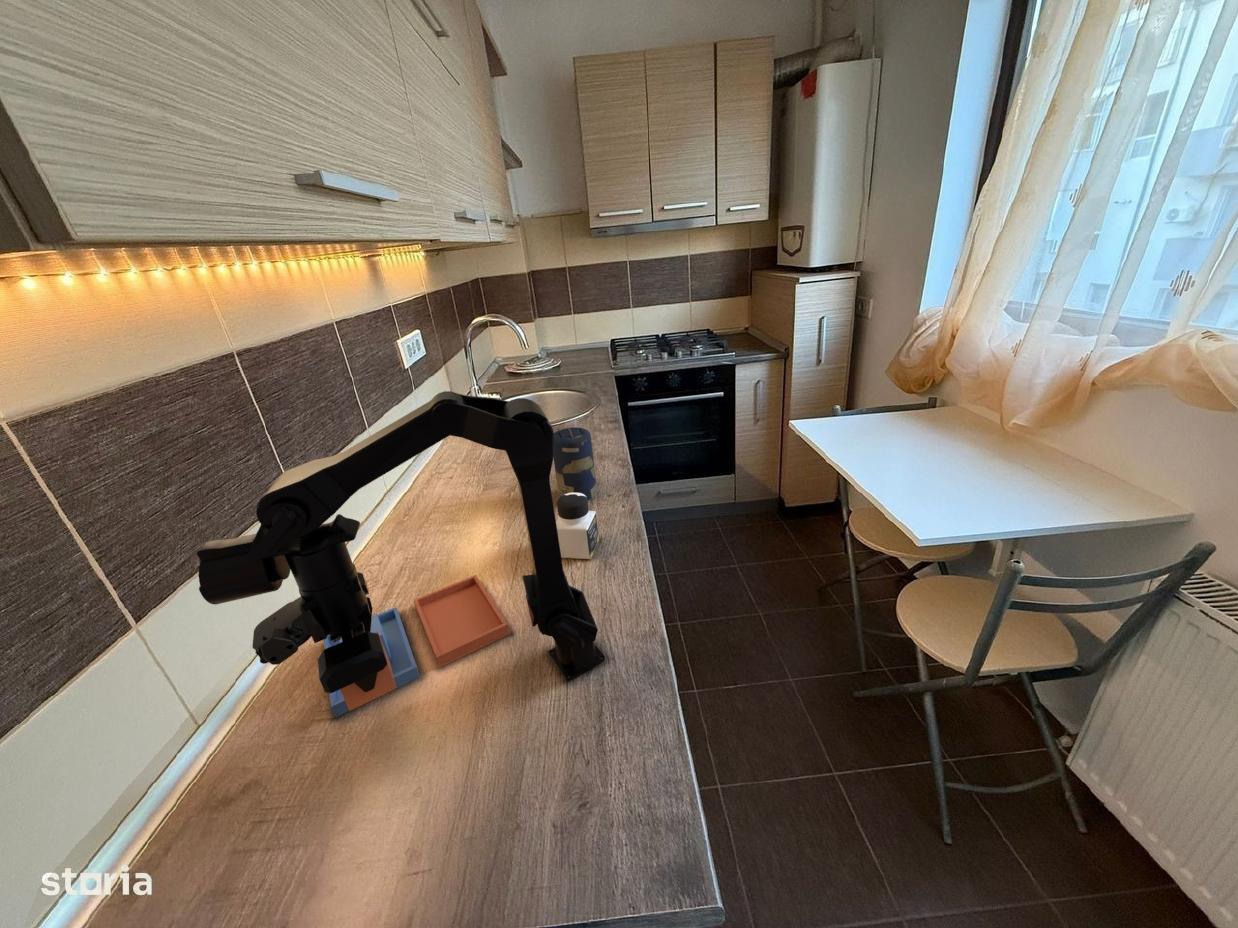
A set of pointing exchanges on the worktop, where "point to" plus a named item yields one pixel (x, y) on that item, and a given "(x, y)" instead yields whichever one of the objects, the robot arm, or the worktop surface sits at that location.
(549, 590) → the robot arm
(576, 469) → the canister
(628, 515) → the worktop surface
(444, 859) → the worktop surface
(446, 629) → the terracotta tray
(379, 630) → the blue block
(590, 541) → the medicine bottle
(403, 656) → the blue tray
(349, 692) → the terracotta block
